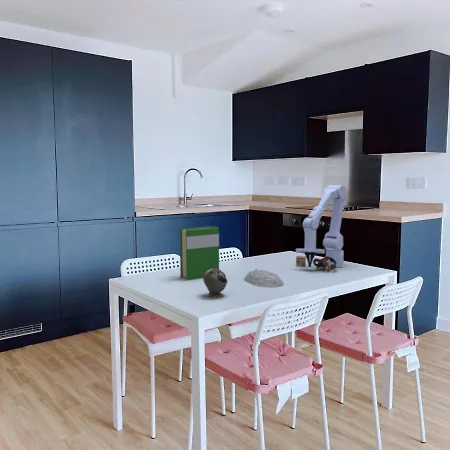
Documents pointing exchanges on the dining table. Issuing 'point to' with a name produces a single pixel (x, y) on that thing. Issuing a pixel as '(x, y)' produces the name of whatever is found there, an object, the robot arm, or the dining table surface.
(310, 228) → the robot arm
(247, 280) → the grey rock
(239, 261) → the dining table surface
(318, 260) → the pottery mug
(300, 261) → the letter cube
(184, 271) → the hardback book
